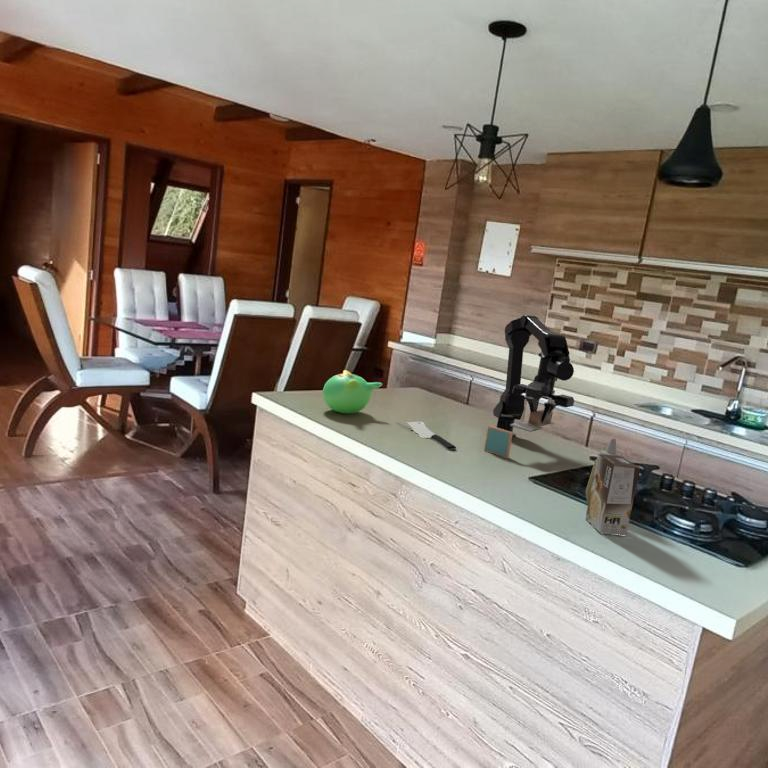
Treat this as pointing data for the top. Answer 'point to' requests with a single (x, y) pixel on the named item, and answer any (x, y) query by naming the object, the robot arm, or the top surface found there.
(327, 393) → the toy bird
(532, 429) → the turner
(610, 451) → the squeeze bottle
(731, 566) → the top surface
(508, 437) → the tile
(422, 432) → the kitchen cleaver
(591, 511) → the coffee box
